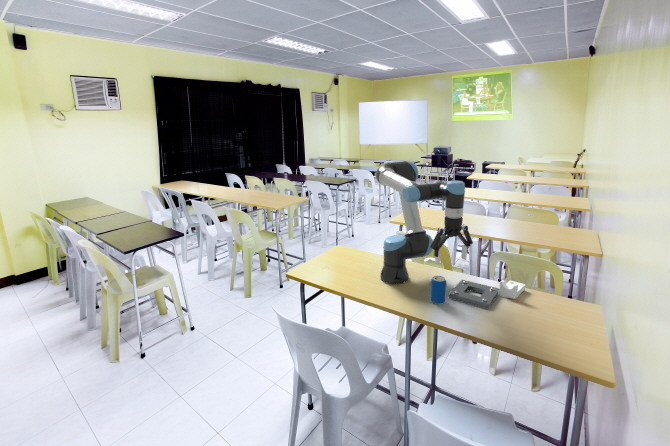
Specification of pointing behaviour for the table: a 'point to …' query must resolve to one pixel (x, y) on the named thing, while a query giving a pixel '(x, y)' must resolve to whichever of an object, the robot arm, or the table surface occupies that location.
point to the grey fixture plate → (483, 301)
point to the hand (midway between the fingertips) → (450, 260)
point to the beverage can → (438, 289)
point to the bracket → (511, 289)
